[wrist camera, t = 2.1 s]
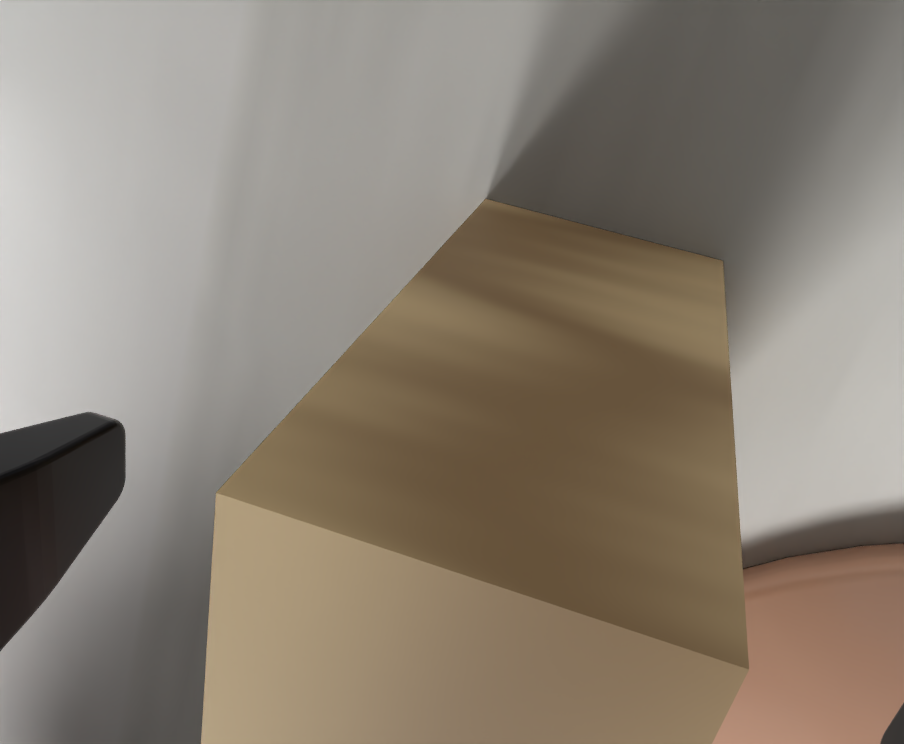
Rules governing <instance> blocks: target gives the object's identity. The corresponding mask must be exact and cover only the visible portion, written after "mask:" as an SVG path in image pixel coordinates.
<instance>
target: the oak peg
mask: <svg viewBox="0 0 904 744" xmlns="http://www.w3.org/2000/svg"><path fill="white" fill-rule="evenodd" d="M748 671H749V659H748V644H747V628H746V612H745V597H744V581H743V566H742V550H741V534H740V519H739V503H738V487H737V472H736V456H735V441H734V425H733V409H732V394H731V378H730V362H729V347H728V331H727V316H726V300H725V284H724V269H723V261H722V260H718V259H714V258H710V257H706V256H702V255H699V254H695V253H691V252H687V251H683V250H679V249H676V248H672V247H668V246H664V245H660V244H657V243H653V242H649V241H645V240H641V239H637V238H634V237H630V236H626V235H622V234H618V233H614V232H611V231H607V230H603V229H599V228H595V227H592V226H588V225H584V224H580V223H576V222H572V221H569V220H565V219H561V218H557V217H553V216H550V215H546V214H542V213H538V212H534V211H530V210H527V209H523V208H519V207H515V206H511V205H507V204H504V203H500V202H496V201H492V200H488V199H485V200H484V201H483V202H482V203H481V204H480V205H479V207H478V208H477V209H476V210H475V211H474V212H473V213H472V214H471V215H470V216H469V217H468V219H467V220H466V221H465V222H464V223H463V224H462V225H461V226H460V227H459V228H458V229H457V231H456V232H455V233H454V234H453V235H452V236H451V237H450V238H449V239H448V240H447V241H446V243H445V244H444V245H443V246H442V247H441V248H440V249H439V250H438V251H437V252H436V253H435V255H434V256H433V257H432V258H431V259H430V260H429V261H428V262H427V263H426V264H425V265H424V267H423V268H422V269H421V270H420V271H419V272H418V273H417V274H416V275H415V276H414V277H413V279H412V280H411V281H410V282H409V283H408V284H407V285H406V286H405V287H404V288H403V289H402V291H401V292H400V293H399V294H398V295H397V296H396V297H395V298H394V299H393V300H392V301H391V303H390V304H389V305H388V306H387V307H386V308H385V309H384V310H383V311H382V312H381V313H380V315H379V316H378V317H377V318H376V319H375V320H374V321H373V322H372V323H371V324H370V325H369V326H368V328H367V329H366V330H365V331H364V332H363V333H362V334H361V335H360V336H359V337H358V338H357V340H356V341H355V342H354V343H353V344H352V345H351V346H350V347H349V348H348V349H347V350H346V352H345V353H344V354H343V355H342V356H341V357H340V358H339V359H338V360H337V361H336V362H335V364H334V365H333V366H332V367H331V368H330V369H329V370H328V371H327V372H326V373H325V374H324V376H323V377H322V378H321V379H320V380H319V381H318V382H317V383H316V384H315V385H314V386H313V388H312V389H311V390H310V391H309V392H308V393H307V394H306V395H305V396H304V397H303V398H302V400H301V401H300V402H299V403H298V404H297V405H296V406H295V407H294V408H293V409H292V410H291V412H290V413H289V414H288V415H287V416H286V417H285V418H284V419H283V420H282V421H281V422H280V424H279V425H278V426H277V427H276V428H275V429H274V430H273V431H272V432H271V433H270V434H269V436H268V437H267V438H266V439H265V440H264V441H263V442H262V443H261V444H260V445H259V446H258V448H257V449H256V450H255V451H254V452H253V453H252V454H251V455H250V456H249V457H248V458H247V459H246V461H245V462H244V463H243V464H242V465H241V466H240V467H239V468H238V469H237V470H236V471H235V473H234V474H233V475H232V476H231V477H230V478H229V479H228V480H227V481H226V482H225V483H224V485H223V486H222V487H221V488H220V489H219V490H218V491H217V492H216V501H215V518H214V534H213V551H212V568H211V584H210V601H209V618H208V634H207V651H206V668H205V684H204V701H203V718H202V734H201V744H712V743H713V741H714V739H715V737H716V735H717V733H718V731H719V729H720V727H721V725H722V723H723V721H724V719H725V717H726V715H727V713H728V711H729V709H730V707H731V705H732V703H733V701H734V699H735V697H736V695H737V693H738V691H739V689H740V687H741V685H742V683H743V681H744V679H745V677H746V675H747V673H748Z"/></svg>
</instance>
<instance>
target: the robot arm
mask: <svg viewBox="0 0 904 744" xmlns="http://www.w3.org/2000/svg"><path fill="white" fill-rule="evenodd" d="M124 483H125V429H124V427H123V425H122V423H120V422H119V421H118V420H115V419H112V418H109V417H106V416H103V415H100V414H97V413H92V412H86V413H81V414H77V415H73V416H69V417H65V418H61V419H57V420H53V421H49V422H45V423H41V424H36V425H32V426H28V427H24V428H20V429H16V430H12V431H8V432H4V433H0V651H1V650H2V649H3V647H4V646H5V645H6V644H7V643H8V642H9V641H10V640H11V638H12V637H13V636H14V635H15V634H16V633H17V632H18V631H19V629H20V628H21V627H22V626H23V625H24V624H25V623H26V622H27V620H28V619H29V618H30V617H31V616H32V615H33V614H34V612H35V611H36V610H37V609H38V608H39V606H40V605H41V604H42V603H43V602H44V601H45V599H46V598H47V597H48V595H49V594H50V593H51V591H52V590H53V589H54V588H55V586H56V585H57V584H58V582H59V581H60V579H61V578H62V577H63V575H64V574H65V572H66V571H67V570H68V568H69V567H70V566H71V564H72V563H73V561H74V560H75V559H76V557H77V556H78V554H79V553H80V552H81V550H82V549H83V547H84V546H85V545H86V543H87V542H88V540H89V539H90V538H91V536H92V535H93V533H94V532H95V531H96V529H97V528H98V526H99V525H100V524H101V522H102V521H103V519H104V518H105V517H106V515H107V514H108V512H109V511H110V510H111V508H112V507H113V505H114V504H115V503H116V501H117V500H118V498H119V496H120V494H121V492H122V490H123V487H124ZM880 744H904V703H903V704H902V706H901V707H900V709H899V711H898V712H897V714H896V715H895V717H894V718H893V720H892V721H891V723H890V724H889V726H888V728H887V729H886V731H885V733H884V734H883V737H882V739H881V742H880Z"/></svg>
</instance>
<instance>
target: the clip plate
mask: <svg viewBox="0 0 904 744" xmlns="http://www.w3.org/2000/svg"><path fill="white" fill-rule="evenodd" d="M743 581H744V597H745V612H746V628H747V644H748V659H749V671H748V673H747V675H746V677H745V679H744V681H743V683H742V685H741V687H740V689H739V691H738V693H737V695H736V697H735V699H734V701H733V703H732V705H731V707H730V709H729V711H728V713H727V715H726V717H725V719H724V721H723V723H722V725H721V727H720V729H719V731H718V733H717V735H716V737H715V739H714V741H713V743H712V744H880V742H881V739H882V737H883V734H884V733H885V731H886V729H887V728H888V726H889V724H890V723H891V721H892V720H893V718H894V717H895V715H896V714H897V712H898V711H899V709H900V707H901V706H902V704H903V703H904V543H902V544H884V545H866V546H859V547H853V548H846V549H840V550H833V551H827V552H820V553H814V554H807V555H801V556H794V557H788V558H784V559H781V560H777V561H773V562H769V563H765V564H762V565H758V566H754V567H750V568H746V569H743Z"/></svg>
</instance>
